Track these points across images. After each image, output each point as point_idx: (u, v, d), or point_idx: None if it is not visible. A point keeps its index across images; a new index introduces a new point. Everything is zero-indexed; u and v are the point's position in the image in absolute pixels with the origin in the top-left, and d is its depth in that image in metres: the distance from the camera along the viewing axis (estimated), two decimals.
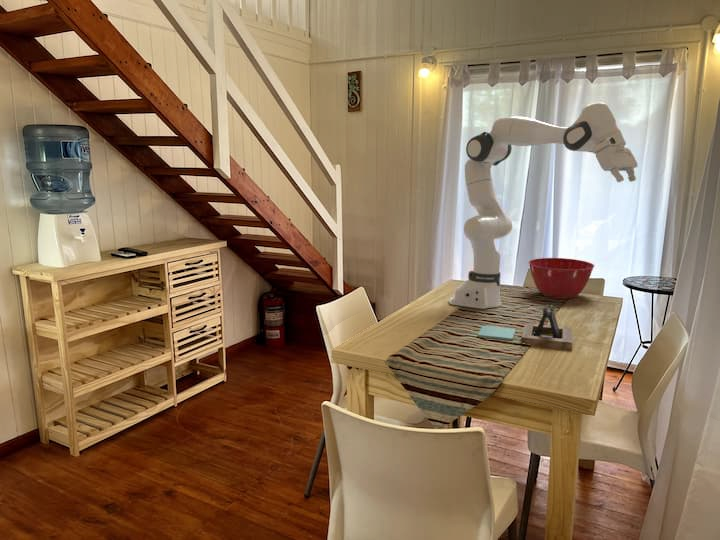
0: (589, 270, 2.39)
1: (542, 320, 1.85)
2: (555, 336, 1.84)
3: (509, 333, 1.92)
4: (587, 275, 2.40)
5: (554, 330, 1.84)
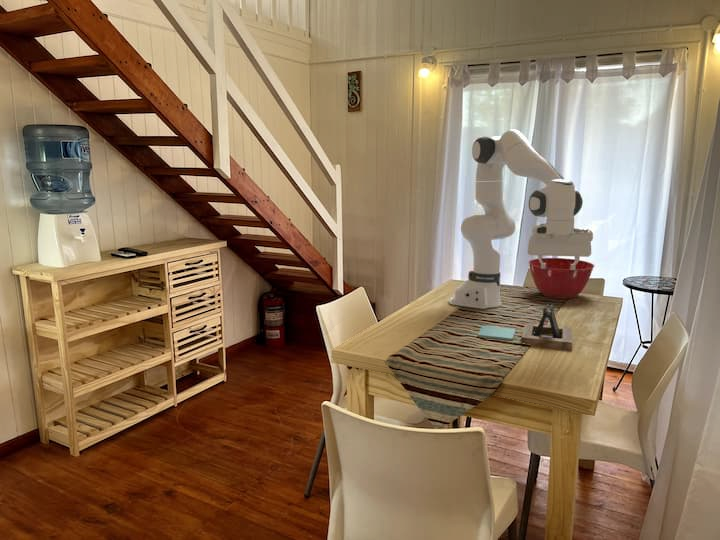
0: (589, 270, 2.39)
1: (542, 320, 1.85)
2: (555, 336, 1.84)
3: (509, 333, 1.92)
4: (587, 275, 2.40)
5: (554, 330, 1.84)
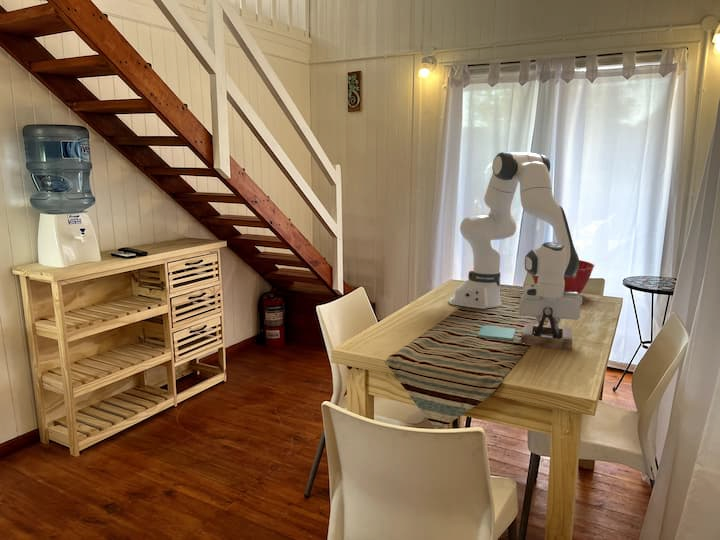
0: (589, 270, 2.39)
1: (542, 320, 1.85)
2: (555, 336, 1.84)
3: (509, 333, 1.92)
4: (587, 275, 2.40)
5: (554, 330, 1.84)
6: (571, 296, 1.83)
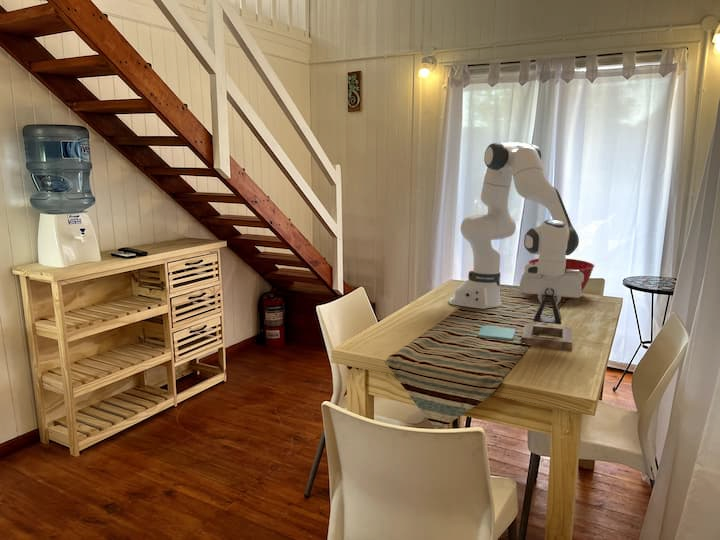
0: (589, 270, 2.39)
1: (544, 301, 1.84)
2: (557, 317, 1.83)
3: (509, 333, 1.92)
4: (587, 275, 2.40)
5: (556, 311, 1.83)
6: (572, 274, 1.82)
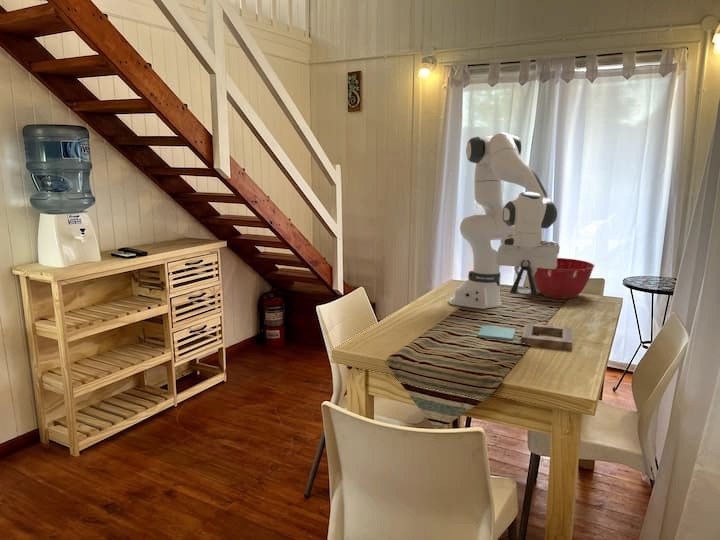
0: (589, 270, 2.39)
1: (520, 273, 1.85)
2: (533, 288, 1.85)
3: (509, 333, 1.92)
4: (587, 275, 2.40)
5: (532, 282, 1.85)
6: (548, 245, 1.83)
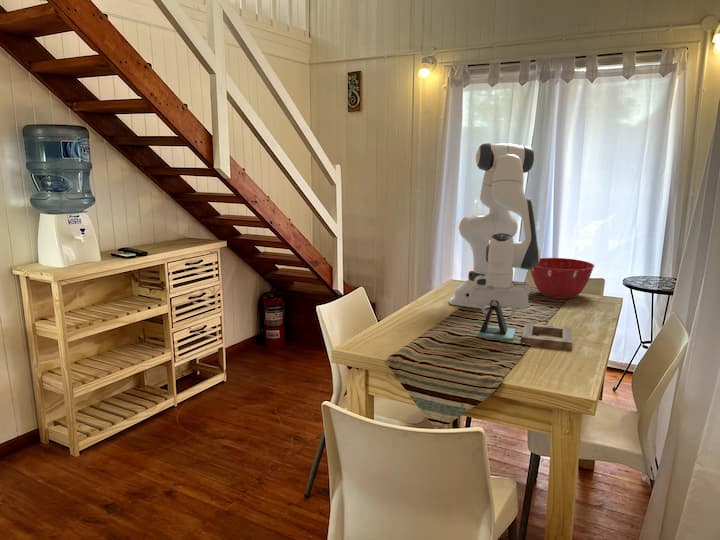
0: (589, 270, 2.39)
1: (489, 313, 1.91)
2: (501, 328, 1.91)
3: (509, 333, 1.92)
4: (587, 275, 2.40)
5: (500, 322, 1.90)
6: (519, 286, 1.88)
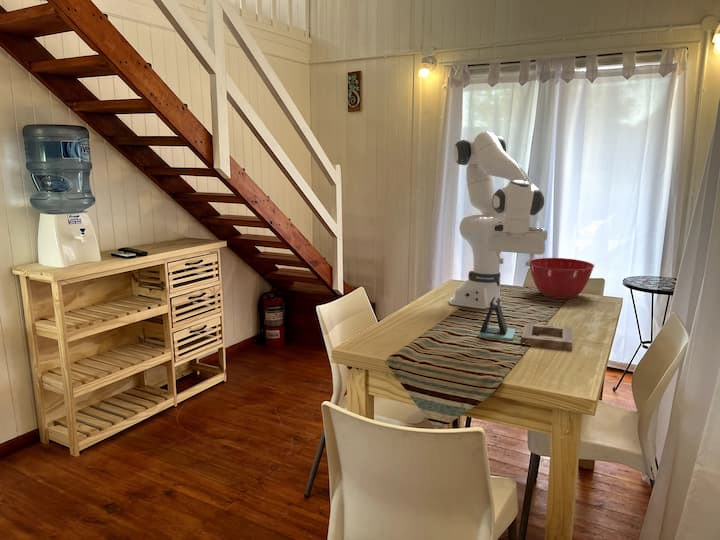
0: (589, 270, 2.39)
1: (489, 313, 1.91)
2: (501, 328, 1.91)
3: (509, 333, 1.92)
4: (587, 275, 2.40)
5: (500, 322, 1.90)
6: (536, 232, 1.90)
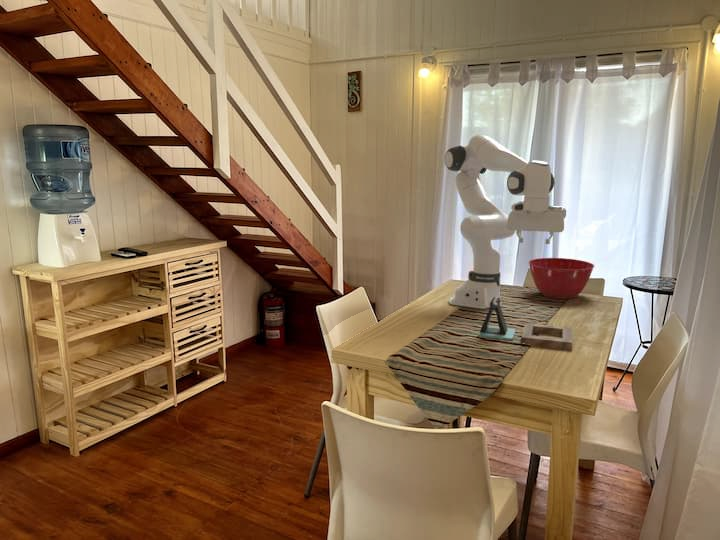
0: (589, 270, 2.39)
1: (489, 313, 1.91)
2: (501, 328, 1.91)
3: (509, 333, 1.92)
4: (587, 275, 2.40)
5: (500, 322, 1.90)
6: (556, 210, 1.96)
